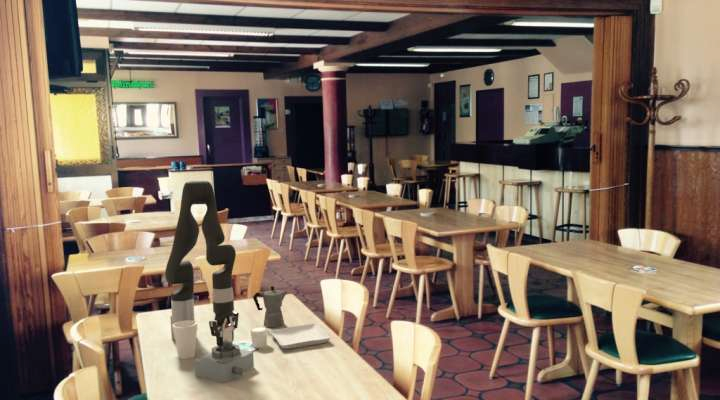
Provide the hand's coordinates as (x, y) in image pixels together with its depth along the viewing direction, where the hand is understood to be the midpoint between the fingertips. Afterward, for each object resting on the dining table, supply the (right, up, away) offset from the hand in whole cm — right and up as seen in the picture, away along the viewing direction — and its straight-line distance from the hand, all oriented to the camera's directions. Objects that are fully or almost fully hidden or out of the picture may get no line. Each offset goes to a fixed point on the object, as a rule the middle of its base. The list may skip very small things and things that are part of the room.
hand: (225, 343), depth 233 cm
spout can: (0, -1, 0) cm, 2 cm away
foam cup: (-19, -9, +16) cm, 26 cm away
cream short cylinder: (+9, -7, +26) cm, 28 cm away
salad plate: (+24, -6, +31) cm, 40 cm away
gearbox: (+1, -10, -2) cm, 10 cm away
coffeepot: (+10, -4, +53) cm, 54 cm away
